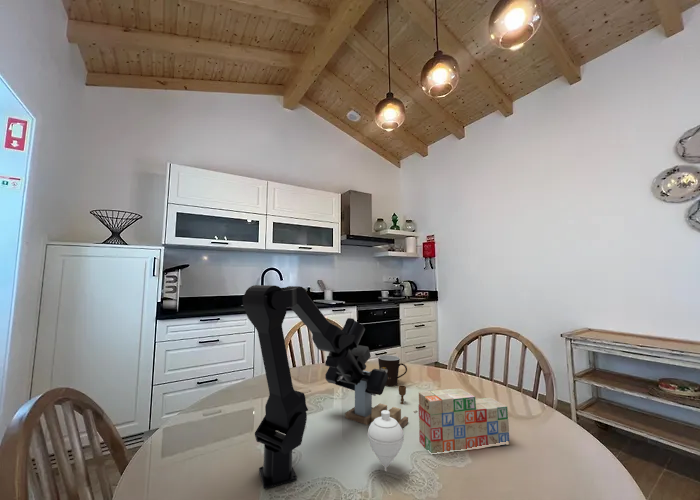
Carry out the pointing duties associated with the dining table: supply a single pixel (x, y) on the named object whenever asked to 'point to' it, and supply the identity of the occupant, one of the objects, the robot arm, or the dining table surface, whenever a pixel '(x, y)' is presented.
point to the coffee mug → (391, 368)
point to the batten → (362, 399)
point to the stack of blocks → (460, 420)
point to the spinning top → (385, 438)
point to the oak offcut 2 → (395, 413)
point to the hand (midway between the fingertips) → (365, 391)
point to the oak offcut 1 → (377, 411)
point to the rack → (368, 418)
